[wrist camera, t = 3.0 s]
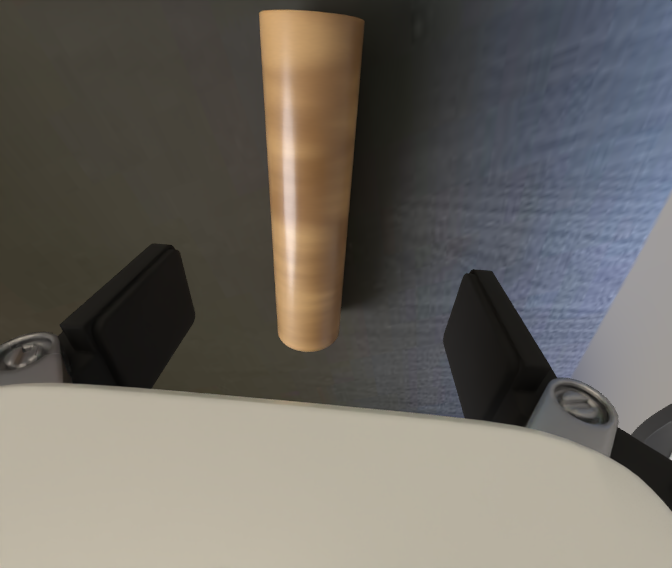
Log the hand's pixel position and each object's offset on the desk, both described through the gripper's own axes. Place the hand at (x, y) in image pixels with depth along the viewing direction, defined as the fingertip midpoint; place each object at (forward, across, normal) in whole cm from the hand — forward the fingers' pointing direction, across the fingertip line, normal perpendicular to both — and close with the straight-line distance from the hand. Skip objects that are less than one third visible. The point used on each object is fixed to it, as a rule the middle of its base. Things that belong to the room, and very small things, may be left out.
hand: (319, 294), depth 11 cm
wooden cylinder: (+8, 0, 0) cm, 8 cm away
